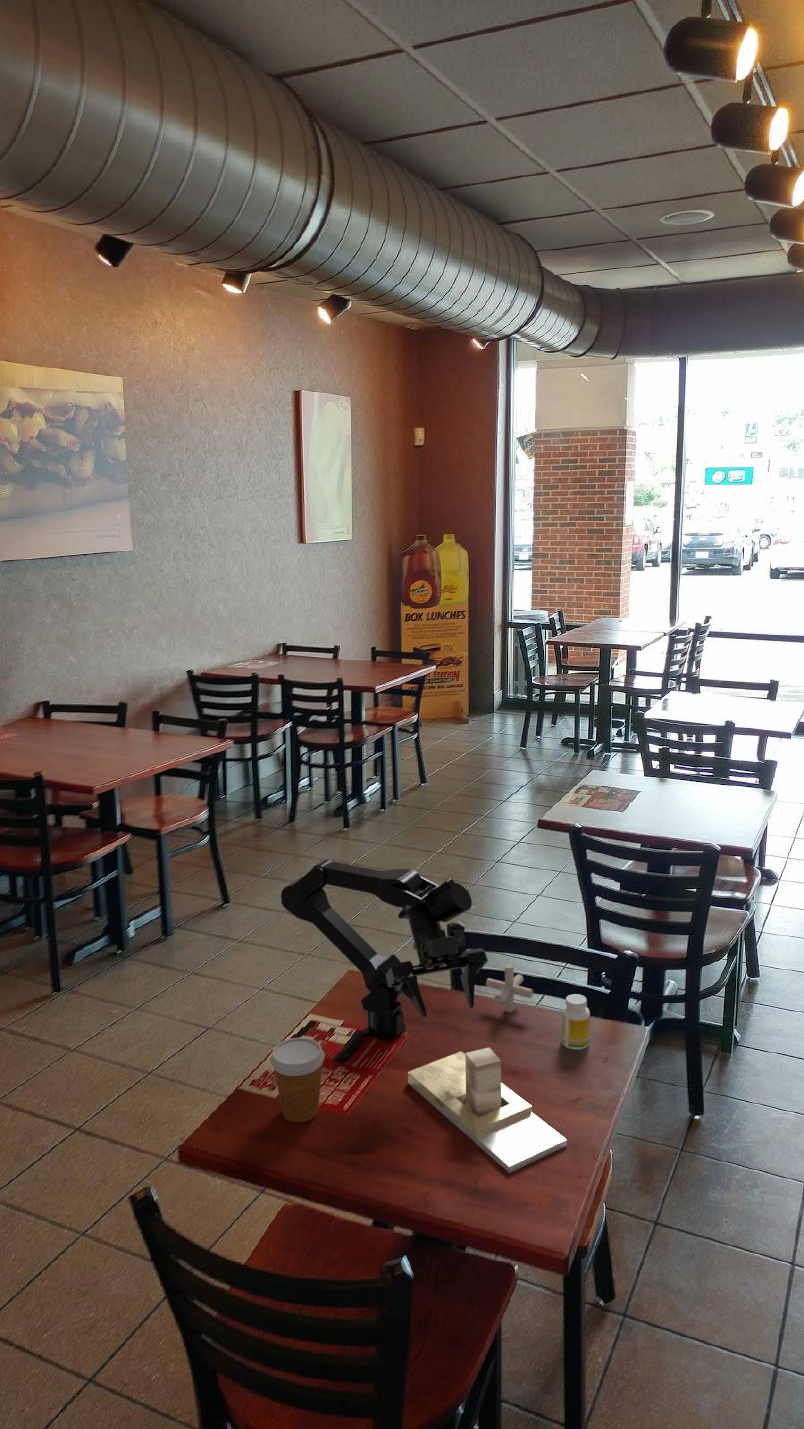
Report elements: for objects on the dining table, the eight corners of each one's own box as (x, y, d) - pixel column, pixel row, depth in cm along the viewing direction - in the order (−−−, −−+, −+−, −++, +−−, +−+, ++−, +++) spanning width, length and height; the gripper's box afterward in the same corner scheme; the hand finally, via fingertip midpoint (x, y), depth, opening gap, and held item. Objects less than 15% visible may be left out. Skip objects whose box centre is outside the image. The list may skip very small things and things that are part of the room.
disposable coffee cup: (264, 1122, 173) (259, 1060, 170) (288, 1091, 182) (284, 1032, 179) (313, 1132, 170) (310, 1069, 167) (336, 1101, 178) (333, 1040, 176)
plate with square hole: (408, 1083, 183) (407, 1071, 182) (461, 1062, 189) (461, 1051, 189) (509, 1173, 158) (509, 1159, 158) (566, 1145, 164) (566, 1132, 164)
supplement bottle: (556, 1042, 195) (556, 998, 193) (574, 1033, 198) (574, 989, 196) (577, 1054, 191) (577, 1008, 189) (595, 1043, 194) (595, 999, 192)
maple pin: (466, 1109, 175) (465, 1052, 173) (489, 1102, 176) (489, 1047, 174) (477, 1123, 171) (476, 1066, 168) (501, 1117, 172) (500, 1060, 170)
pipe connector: (520, 1027, 201) (520, 981, 199) (477, 1014, 206) (476, 970, 204) (541, 1005, 209) (541, 961, 207) (498, 994, 215) (498, 951, 212)
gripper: (389, 924, 180) (410, 1008, 172) (483, 908, 186) (508, 989, 178) (377, 945, 189) (397, 1026, 181) (467, 930, 195) (490, 1008, 187)
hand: (448, 1012), depth 182 cm, fingers open, 9 cm apart
